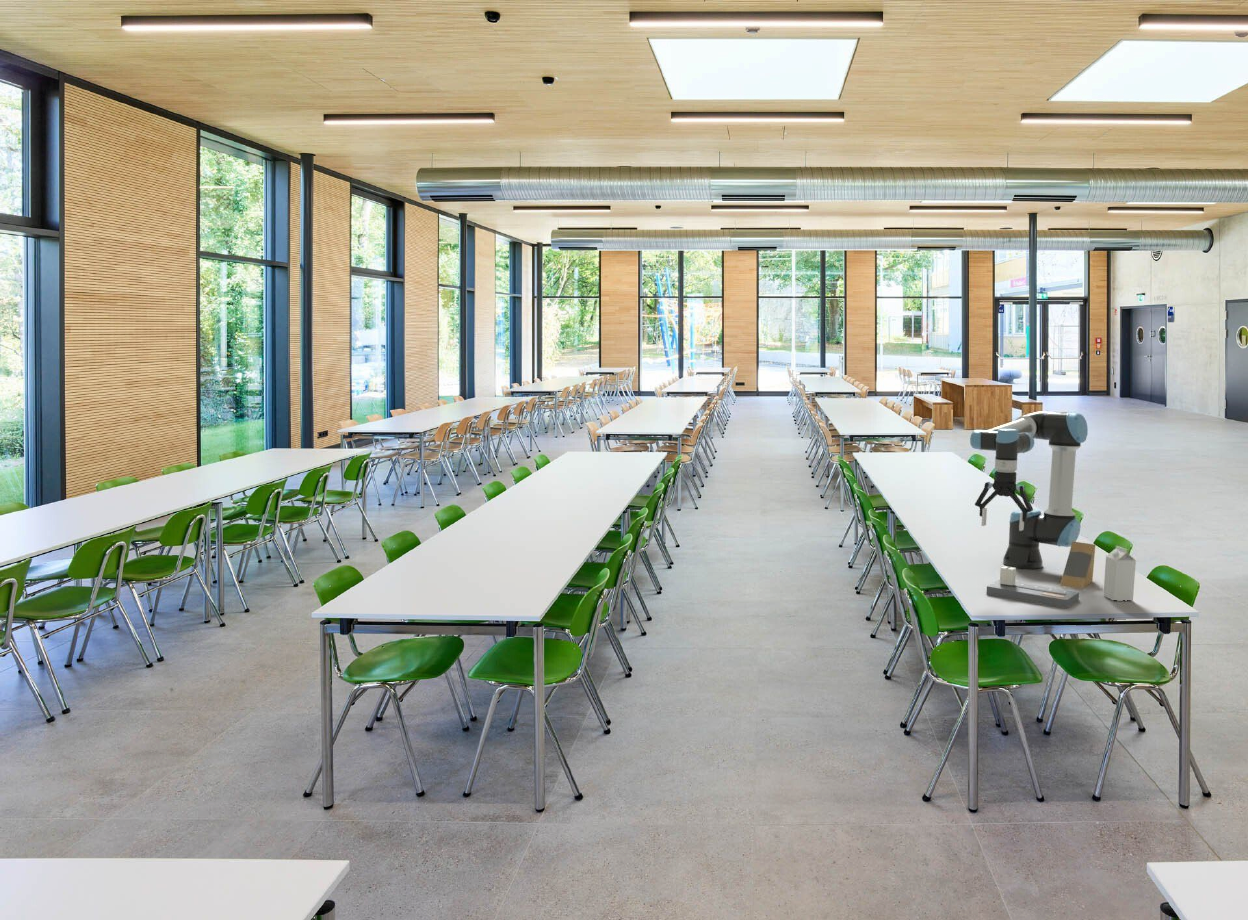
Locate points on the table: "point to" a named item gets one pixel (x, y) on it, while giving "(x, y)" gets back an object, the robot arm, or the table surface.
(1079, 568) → the sandwich container
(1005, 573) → the fader knob
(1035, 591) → the fader console
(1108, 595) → the milk carton
